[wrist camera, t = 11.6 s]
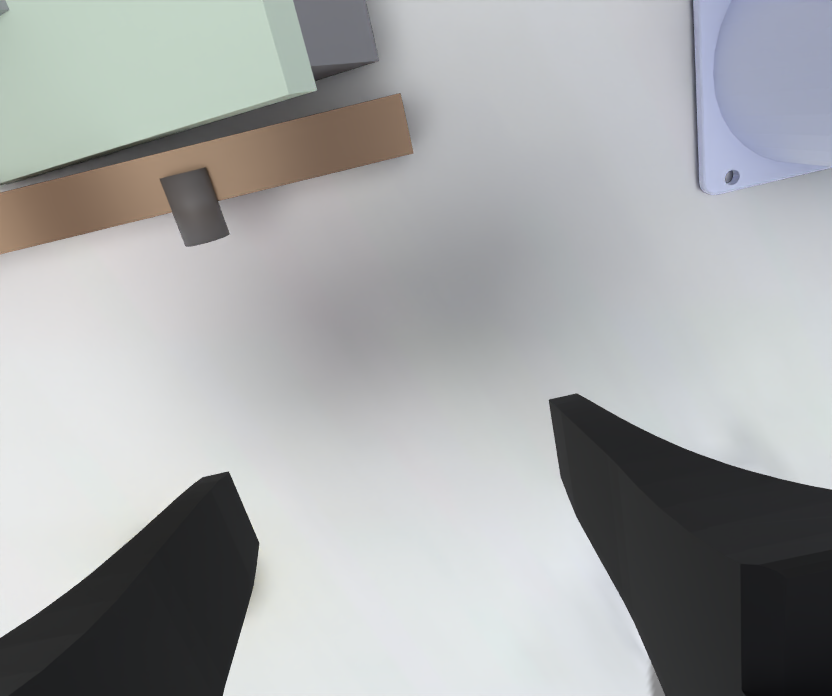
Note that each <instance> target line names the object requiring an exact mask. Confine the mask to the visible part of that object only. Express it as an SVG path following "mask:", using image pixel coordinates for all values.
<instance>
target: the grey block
mask: <svg viewBox="0 0 832 696" xmlns="http://www.w3.org/2000/svg"><path fill="white" fill-rule="evenodd" d="M8 10H9V7H8V5H7V3H6V1H5V0H0V16H1V15H2V14H4V13H5V12H7V11H8Z"/></svg>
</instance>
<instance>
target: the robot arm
mask: <svg viewBox="0 0 832 696" xmlns="http://www.w3.org/2000/svg"><path fill="white" fill-rule="evenodd" d="M693 8H694V38H695V67H696V97H697V127H698V156H699V183H700V188H701V189H702V190H703V192H705V193H708V194H711V195H719V194H723V193H727V192H731V191H735V190H740V189H744V188H748V187H752V186H757V185H761V184H765V183H769V182H774V181H778V180H782V179H786V178H790V177H795V176H799V175H803V174H807V173H812V172H816V171H820V170H824V169H829V168H832V0H693ZM731 170H732V171H733V174H734V175H733V179H732V180H731V181H730V182H729V183H726V181H725V177H726V174H727V173H728V172H729V171H731ZM549 405H550V411H551V418H552V424H553V430H554V437H555V443H556V450H557V456H558V463H559V469H560V476H561V479H562V482H563V484H564V487H565V489H566V492H567V495H568V497H569V500H570V502H571V505H572V507H573V509H574V512H575V514H576V517H577V518H578V520H579V522H580V524H581V526H582V528H583V530H584V531H585V533H586V535H587V537H588V539H589V540H590V542H591V544H592V546H593V548H594V549H595V551H596V553H597V555H598V557H599V558H600V560H601V562H602V564H603V566H604V567H605V569H606V571H607V573H608V574H609V576H610V578H611V580H612V582H613V583H614V585H615V587H616V589H617V591H618V592H619V594H620V596H621V598H622V600H623V601H624V603H625V605H626V607H627V609H628V611H629V613H630V615H631V617H632V619H633V621H634V623H635V626H636V628H637V630H638V632H639V635H640V637H641V639H642V642H643V644H644V646H645V649H646V651H647V653H648V656H649V658H650V660H651V662H652V665H653V667H654V669H655V672H656V674H657V677H658V679H659V681H660V684H661V686H662V688H663V691H664V693H665V696H832V490H830V489H825V488H820V487H814V486H809V485H805V484H800V483H795V482H791V481H786V480H782V479H778V478H775V477H771V476H767V475H763V474H759V473H756V472H752V471H748V470H745V469H741V468H738V467H735V466H731V465H728V464H725V463H723V462H720V461H717V460H714V459H711V458H708V457H705V456H703V455H700V454H697V453H694V452H692V451H689V450H687V449H684V448H682V447H679V446H677V445H675V444H673V443H670V442H668V441H666V440H664V439H661V438H659V437H657V436H655V435H653V434H651V433H649V432H647V431H645V430H643V429H641V428H639V427H637V426H635V425H633V424H631V423H629V422H627V421H625V420H623V419H621V418H620V417H618V416H616V415H614V414H612V413H611V412H609V411H607V410H605V409H604V408H602V407H600V406H598V405H596V404H595V403H593V402H591V401H590V400H588V399H586V398H584V397H582V396H581V395H579V394H577V393H576V394H572V395H568V396H563V397H559V398H554V399H550V400H549ZM258 549H259V541H258V539H257V537H256V534H255V532H254V530H253V527H252V525H251V522H250V520H249V518H248V515H247V513H246V511H245V508H244V506H243V504H242V501H241V499H240V497H239V494H238V492H237V489H236V487H235V485H234V482H233V480H232V478H231V475H230V473H229V472H224V473H220V474H215V475H211V476H206V477H202V478H201V479H200V480H198V481H197V482H195V483H194V484H193V485H192V486H190V487H189V488H188V489H187V490H186V491H185V492H183V493H182V494H181V495H180V496H179V497H178V498H177V499H175V500H174V501H173V502H172V503H171V504H170V505H169V506H168V507H167V508H166V509H164V510H163V511H162V512H161V513H160V514H159V515H158V516H157V517H156V518H154V519H153V520H152V521H151V522H150V523H149V524H148V525H147V526H146V527H145V528H143V529H142V530H141V531H140V532H139V533H138V534H137V535H136V536H135V537H133V538H132V539H131V540H130V541H129V542H128V543H126V544H125V545H124V546H123V547H122V548H121V549H119V550H118V551H117V552H116V553H115V554H114V555H112V556H111V557H110V558H109V559H108V560H106V561H105V562H104V563H103V564H102V565H101V566H99V567H98V568H97V569H96V570H95V571H94V572H92V573H91V574H90V575H89V576H87V577H86V578H85V579H84V580H82V581H81V582H80V583H78V584H77V585H76V586H74V587H73V588H72V589H71V590H69V591H68V592H67V593H65V594H64V595H62V596H61V597H60V598H58V599H57V600H56V601H54V602H53V603H52V604H50V605H49V606H47V607H46V608H45V609H43V610H42V611H40V612H39V613H38V614H36V615H35V616H33V617H32V618H30V619H29V620H27V621H26V622H24V623H23V624H21V625H20V626H18V627H16V628H15V629H13V630H12V631H10V632H9V633H7V634H6V635H4V636H3V637H1V638H0V696H223V692H224V688H225V684H226V681H227V677H228V674H229V670H230V667H231V664H232V660H233V657H234V653H235V650H236V646H237V643H238V639H239V636H240V632H241V629H242V626H243V622H244V619H245V615H246V611H247V608H248V604H249V601H250V597H251V593H252V589H253V586H254V579H255V573H256V566H257V558H258Z"/></svg>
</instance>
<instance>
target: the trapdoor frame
mask: <svg viewBox="0 0 832 696" xmlns="http://www.w3.org/2000/svg"><path fill="white" fill-rule="evenodd" d="M409 154H413V148H412V144H411V139H410V135H409V130H408V125H407V121H406V116H405V112H404V107H403V102H402V98H401V93H399V94H395V95H391V96H387V97H383V98H379V99H375V100H371V101H367V102H363V103H359V104H355V105H351V106H347V107H343V108H339V109H335V110H331V111H327V112H323V113H319V114H314V115H310V116H306V117H302V118H298V119H294V120H290V121H286V122H282V123H278V124H274V125H270V126H266V127H262V128H258V129H254V130H250V131H246V132H242V133H238V134H234V135H230V136H226V137H222V138H218V139H214V140H210V141H206V142H202V143H198V144H194V145H190V146H186V147H182V148H178V149H174V150H170V151H166V152H162V153H158V154H154V155H150V156H146V157H142V158H138V159H134V160H130V161H126V162H122V163H118V164H114V165H110V166H106V167H102V168H98V169H94V170H90V171H86V172H82V173H78V174H74V175H70V176H66V177H62V178H58V179H54V180H50V181H45V182H41V183H37V184H33V185H29V186H25V187H21V188H17V189H13V190H9V191H5V192H1V193H0V254H4V253H8V252H12V251H16V250H20V249H24V248H28V247H32V246H36V245H40V244H45V243H49V242H53V241H57V240H61V239H65V238H69V237H73V236H77V235H81V234H85V233H90V232H94V231H98V230H102V229H106V228H110V227H114V226H118V225H122V224H126V223H130V222H135V221H139V220H143V219H147V218H151V217H155V216H159V215H163V214H167V213H171V212H172V213H173V215H174V218H175V220H176V223H177V226H178V228H179V231H180V233H181V236H182V238H183V241H184V244H185V246H186V247H189V246H195V245H200V244H204V243H208V242H211V241H214V240H217V239H220V238H223V237H225V236H227V235H229V231H228V228H227V225H226V222H225V220H224V217H223V214H222V211H221V208H220V206H219V203H218V201H220V200H225V199H229V198H233V197H237V196H241V195H245V194H249V193H253V192H257V191H261V190H265V189H270V188H274V187H278V186H282V185H286V184H290V183H294V182H298V181H302V180H306V179H310V178H315V177H319V176H323V175H327V174H331V173H335V172H339V171H343V170H347V169H351V168H355V167H360V166H364V165H368V164H372V163H376V162H380V161H384V160H388V159H392V158H396V157H400V156H405V155H409Z"/></svg>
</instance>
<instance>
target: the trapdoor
mask: <svg viewBox="0 0 832 696" xmlns="http://www.w3.org/2000/svg"><path fill="white" fill-rule="evenodd" d="M5 1H6V3H7V5H8V7H9V10H8V11H7V12H5V13H4V14H2V15H1V16H0V185H2V184H7V183H12V182H16V181H20V180H23V179H26V178H30V177H33V176H36V175H39V174H43V173H46V172H49V171H53V170H56V169H59V168H63V167H66V166H69V165H72V164H76V163H79V162H82V161H86V160H89V159H92V158H96V157H99V156H102V155H105V154H109V153H112V152H115V151H119V150H122V149H125V148H129V147H132V146H135V145H139V144H142V143H145V142H148V141H152V140H155V139H158V138H162V137H165V136H168V135H172V134H175V133H178V132H181V131H185V130H188V129H191V128H195V127H198V126H201V125H205V124H208V123H211V122H214V121H218V120H221V119H224V118H228V117H231V116H234V115H238V114H241V113H244V112H248V111H251V110H254V109H257V108H261V107H264V106H267V105H271V104H274V103H277V102H281V101H284V100H287V99H290V98H294V97H297V96H300V95H304V94H307V93H310V92H314V91H317V88H316V84H315V81H317V80H320V79H323V78H326V77H329V76H333V75H336V74H339V73H342V72H345V71H349V70H352V69H355V68H358V67H361V66H364V65H368V64H371V63H374V62H377V61H379V58H378V54H377V49H376V45H375V41H374V36H373V32H372V27H371V23H370V19H369V14H368V10H367V5H366V1H365V0H5Z"/></svg>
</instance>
